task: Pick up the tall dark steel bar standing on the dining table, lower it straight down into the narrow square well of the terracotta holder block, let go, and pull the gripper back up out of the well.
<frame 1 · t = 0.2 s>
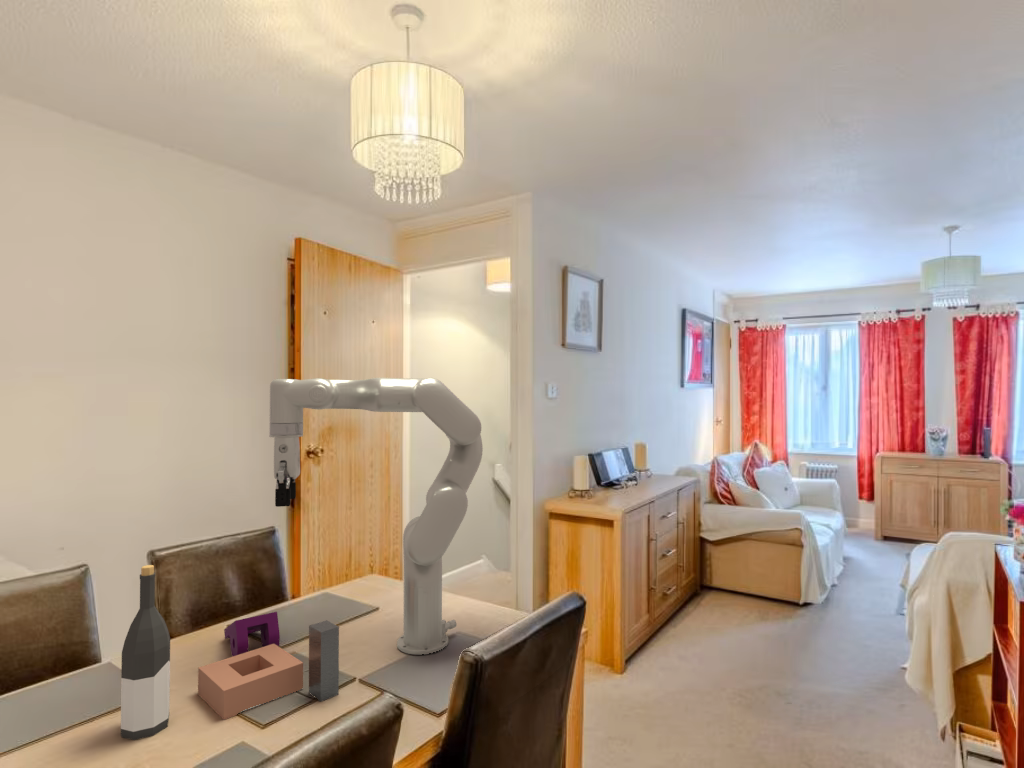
hand: (285, 502, 137), 37 cm above the table, tool pointing down, fingers open, 9 cm apart
mounting bracket: (249, 647, 143), on the table
steel bar: (323, 693, 120), on the table
well holder: (250, 691, 121), on the table
wine bottle: (145, 728, 108), on the table
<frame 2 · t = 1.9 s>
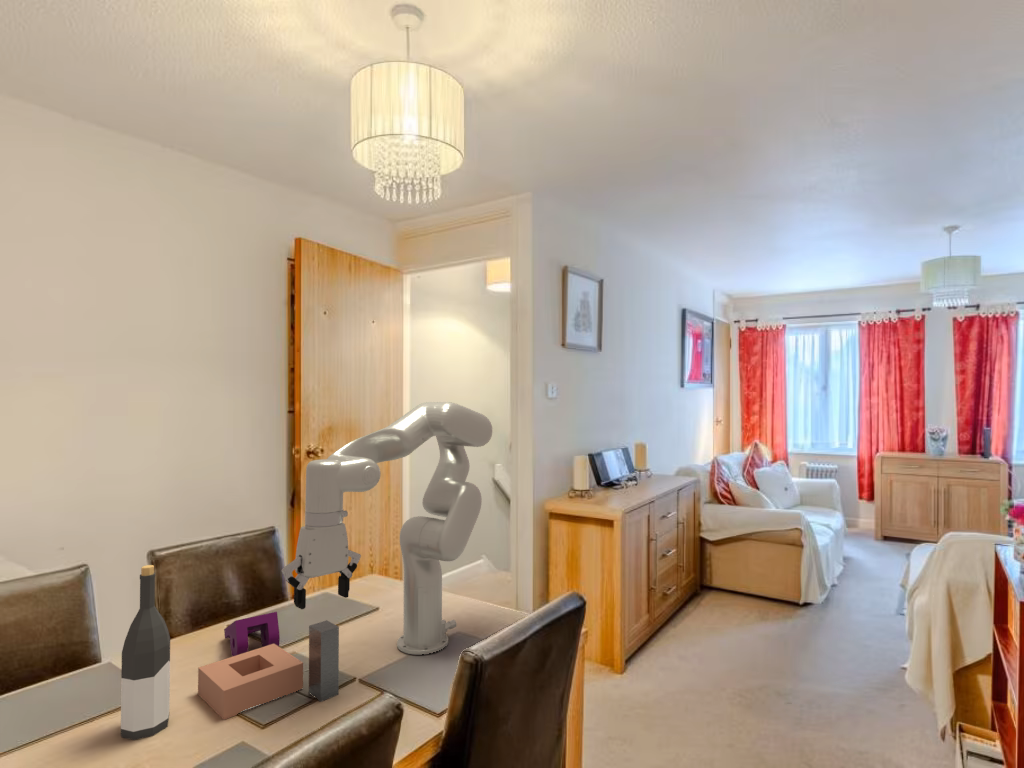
hand: (322, 601, 120), 19 cm above the table, tool pointing down, fingers open, 9 cm apart
nothing on the table moved.
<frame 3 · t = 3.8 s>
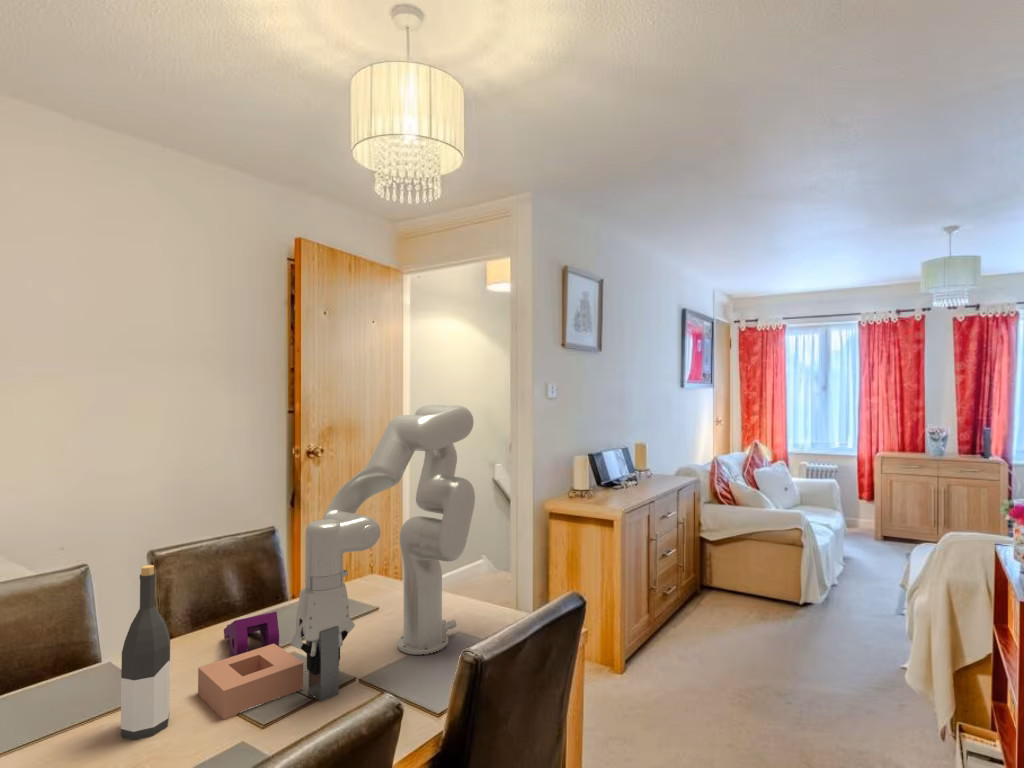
hand: (323, 668, 120), 5 cm above the table, tool pointing down, fingers closed on steel bar, 4 cm apart
steel bar: (323, 693, 120), on the table, touching gripper
everything else where it was.
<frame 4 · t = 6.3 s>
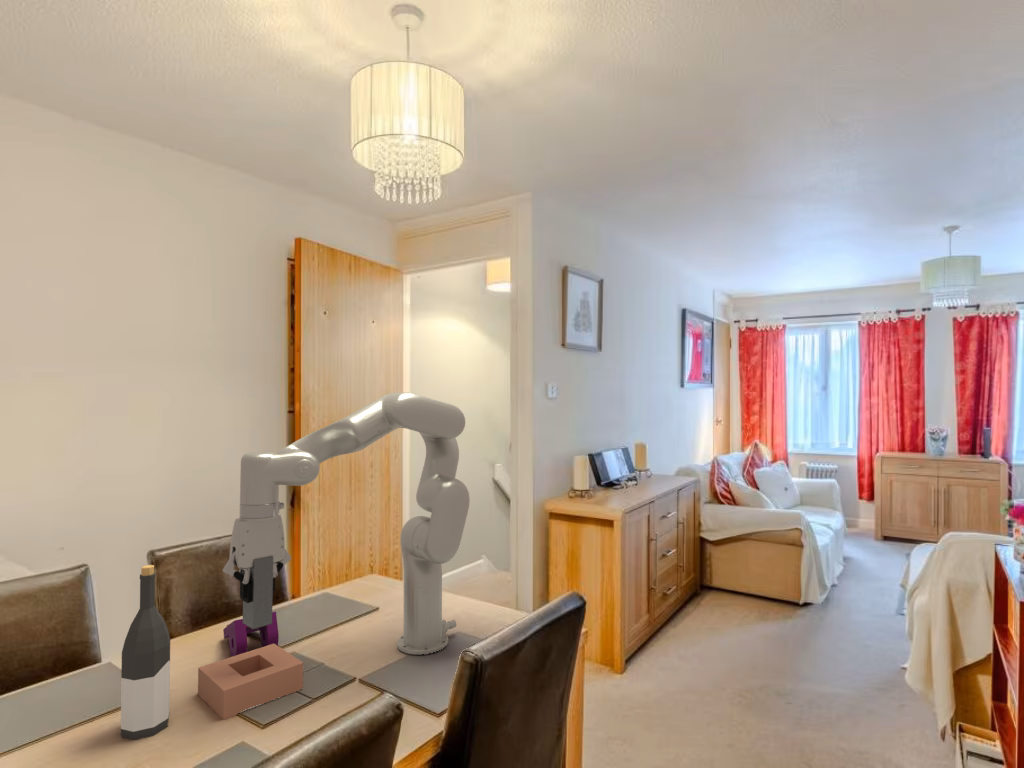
hand: (257, 597, 121), 20 cm above the table, tool pointing down, fingers closed on steel bar, 4 cm apart
steel bar: (257, 623, 121), point 14 cm above the table, touching gripper
everything else where it was.
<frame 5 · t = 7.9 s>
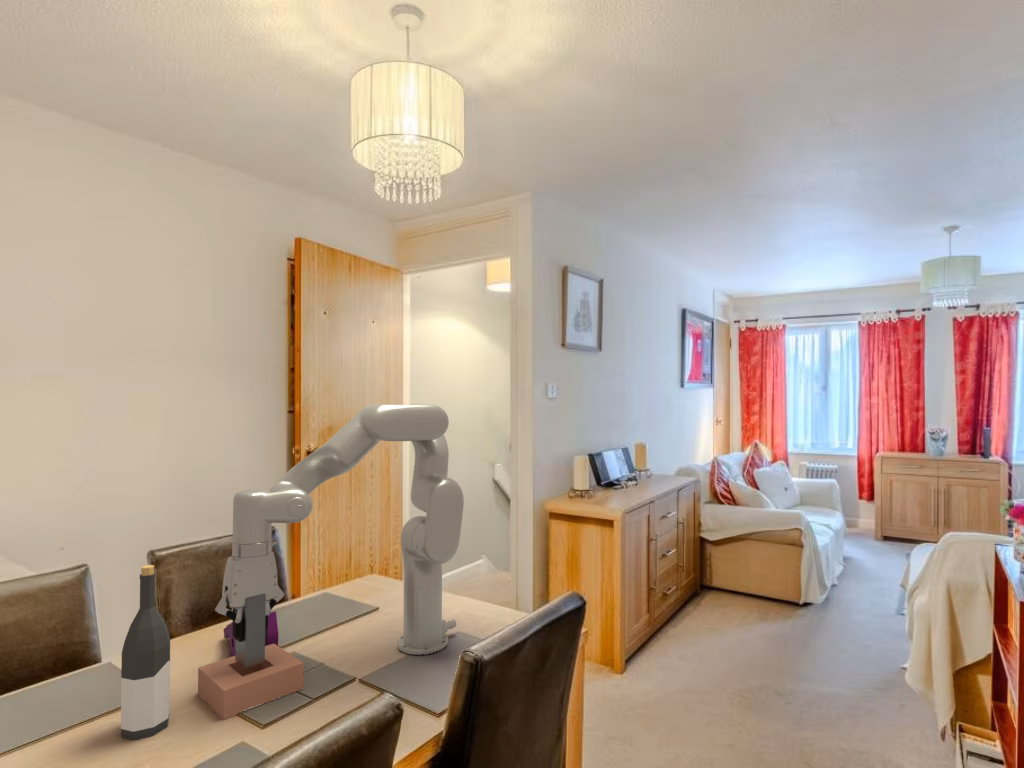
hand: (250, 635, 121), 12 cm above the table, tool pointing down, fingers closed on steel bar, 4 cm apart
steel bar: (249, 661, 121), point 6 cm above the table, touching gripper
everything else where it was.
when the fingers open (7 cm above the table, at t = 9.0 s): steel bar drops 2 cm, resting in well holder.
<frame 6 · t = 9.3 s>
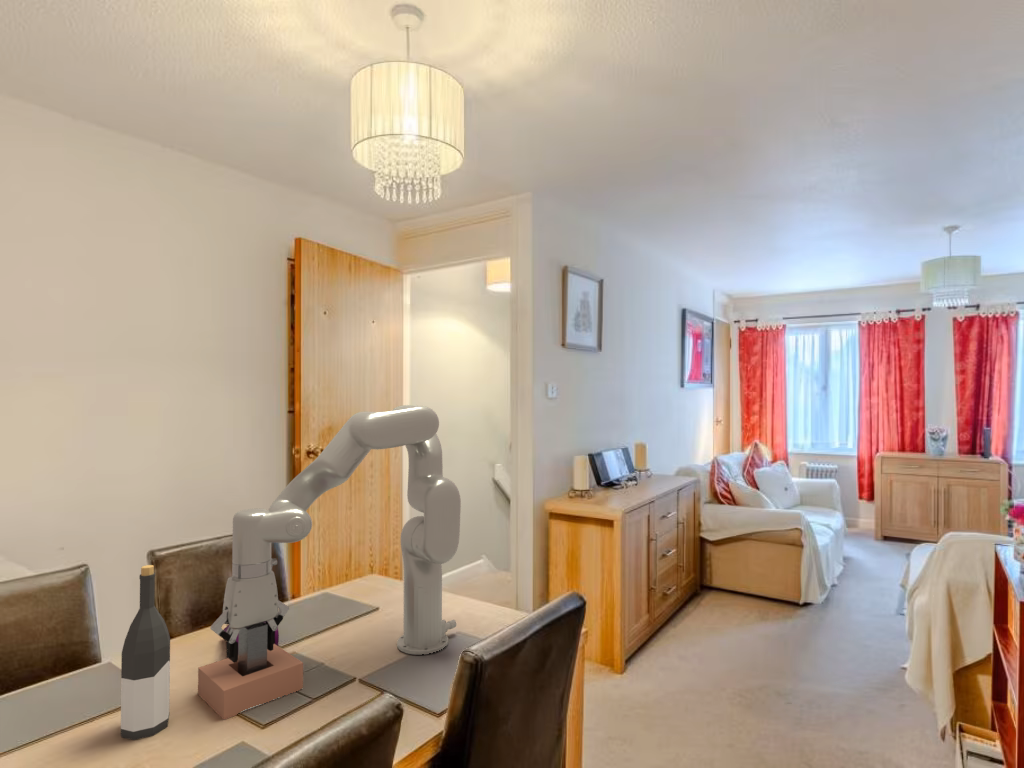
hand: (251, 653, 121), 8 cm above the table, tool pointing down, fingers open, 6 cm apart
steel bar: (251, 691, 121), resting in well holder
everything else where it was.
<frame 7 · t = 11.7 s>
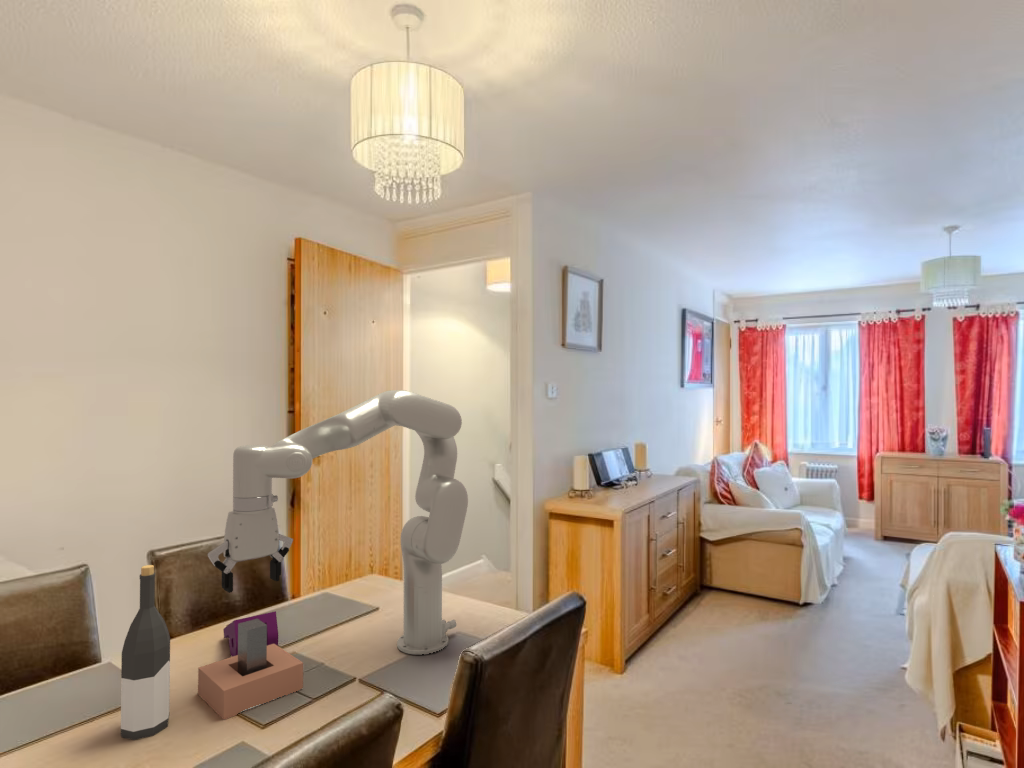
hand: (252, 585, 121), 22 cm above the table, tool pointing down, fingers open, 9 cm apart
nothing on the table moved.
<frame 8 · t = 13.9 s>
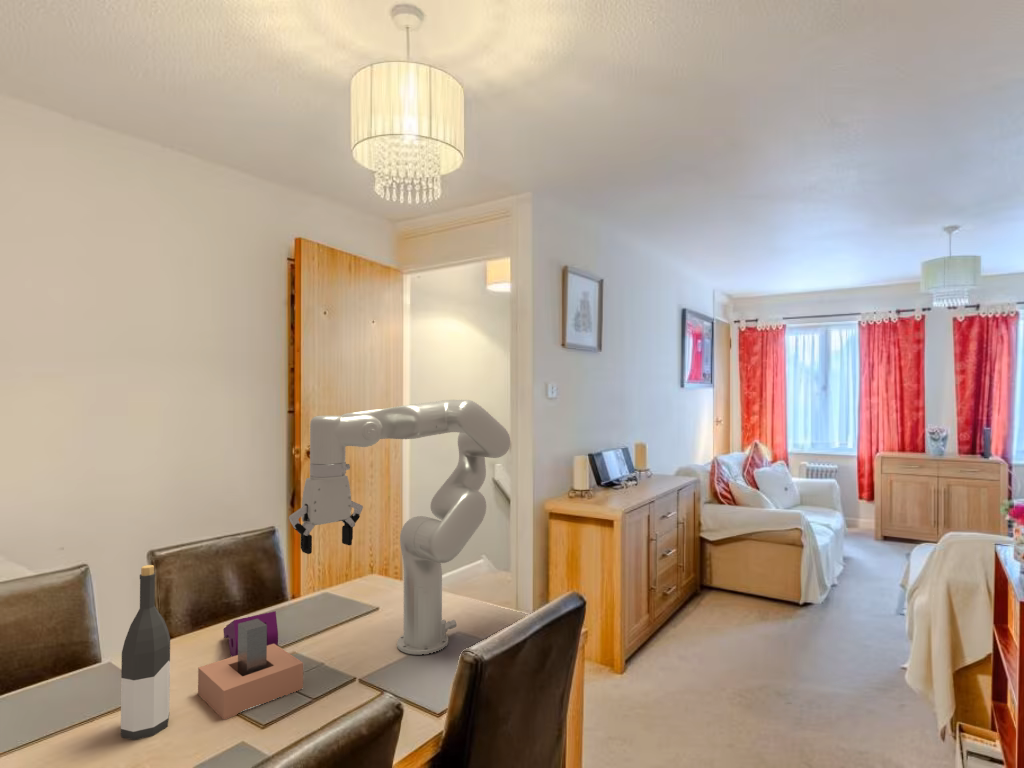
hand: (327, 548, 128), 28 cm above the table, tool pointing down, fingers open, 9 cm apart
nothing on the table moved.
at the end: steel bar 0.2 cm off-centre on the well holder, point 0.0 cm above the well holder's base; steel bar tilted 0°; the gripper is holding nothing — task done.
